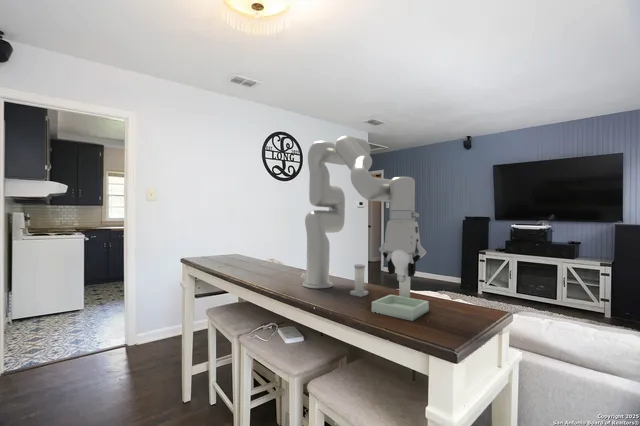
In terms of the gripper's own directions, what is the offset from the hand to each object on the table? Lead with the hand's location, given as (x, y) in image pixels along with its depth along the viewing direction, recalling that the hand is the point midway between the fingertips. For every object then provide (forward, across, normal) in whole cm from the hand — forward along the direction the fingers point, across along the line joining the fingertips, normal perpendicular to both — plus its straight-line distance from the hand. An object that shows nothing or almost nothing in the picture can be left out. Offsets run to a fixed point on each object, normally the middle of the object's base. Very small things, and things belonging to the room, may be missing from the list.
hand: (401, 274), depth 99 cm
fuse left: (+11, +21, -10) cm, 26 cm away
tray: (+12, 0, 0) cm, 12 cm away
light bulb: (+3, 0, 0) cm, 3 cm away
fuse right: (+12, +3, -10) cm, 16 cm away
